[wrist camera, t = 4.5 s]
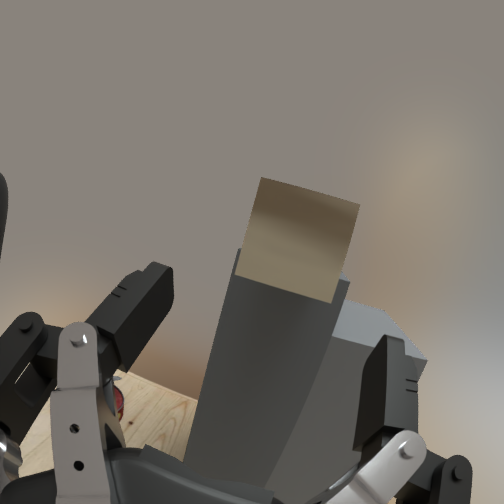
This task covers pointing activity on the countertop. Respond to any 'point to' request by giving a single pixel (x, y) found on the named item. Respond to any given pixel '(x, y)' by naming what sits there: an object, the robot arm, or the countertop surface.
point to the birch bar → (297, 239)
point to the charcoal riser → (285, 388)
